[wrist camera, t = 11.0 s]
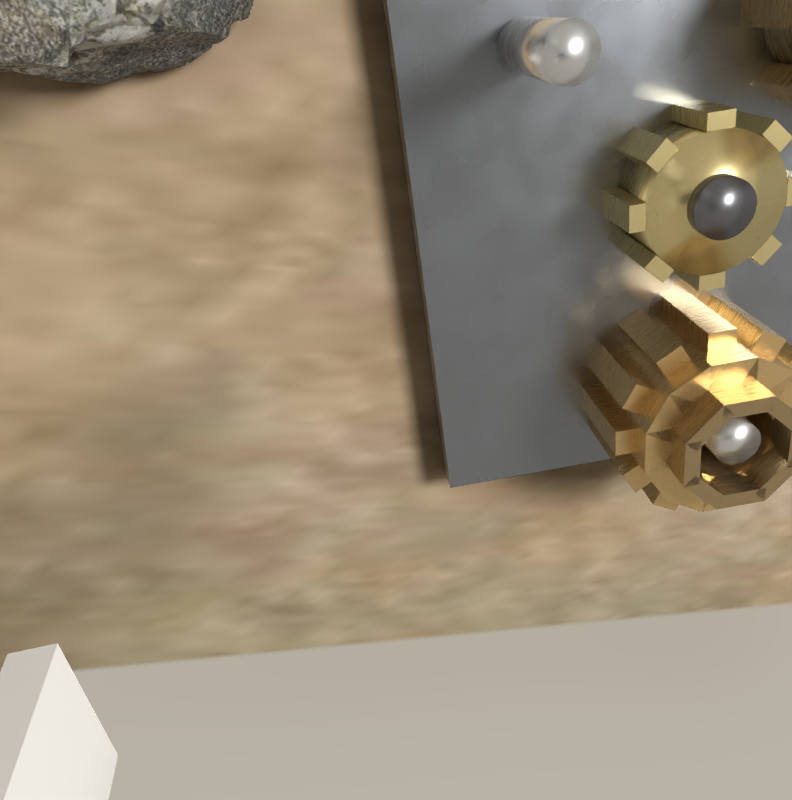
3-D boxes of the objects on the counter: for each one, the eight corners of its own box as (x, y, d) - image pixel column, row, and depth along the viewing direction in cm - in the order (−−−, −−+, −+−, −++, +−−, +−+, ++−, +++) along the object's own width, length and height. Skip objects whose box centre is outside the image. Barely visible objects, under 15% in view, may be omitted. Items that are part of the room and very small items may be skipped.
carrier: (374, -67, 26) (401, -98, 18) (956, -160, 26) (1206, -224, 19) (445, 470, 36) (480, 587, 29) (862, 395, 37) (1000, 491, 29)
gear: (580, 311, 31) (638, 376, 26) (771, 278, 32) (868, 335, 26) (585, 474, 35) (636, 560, 30) (755, 443, 36) (837, 523, 30)
